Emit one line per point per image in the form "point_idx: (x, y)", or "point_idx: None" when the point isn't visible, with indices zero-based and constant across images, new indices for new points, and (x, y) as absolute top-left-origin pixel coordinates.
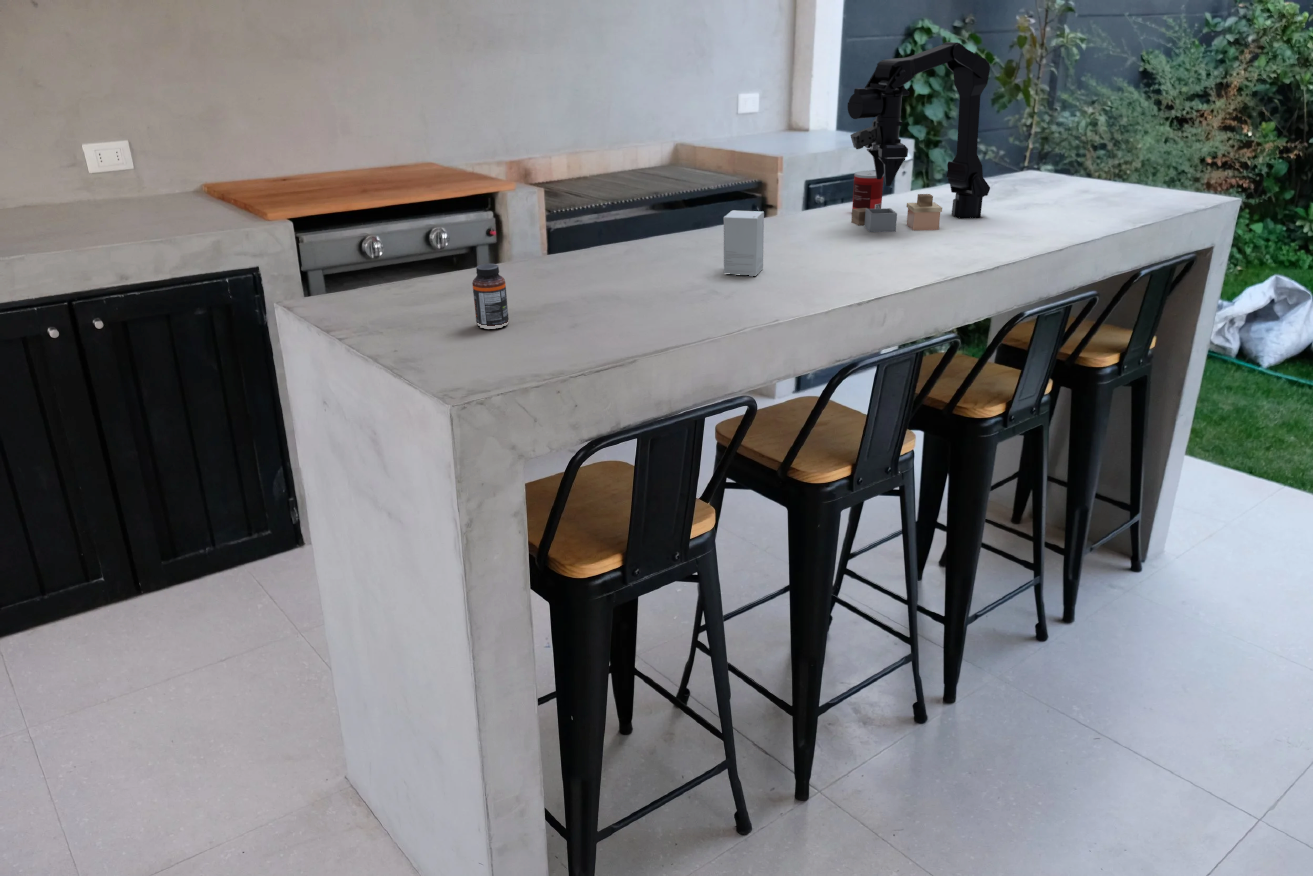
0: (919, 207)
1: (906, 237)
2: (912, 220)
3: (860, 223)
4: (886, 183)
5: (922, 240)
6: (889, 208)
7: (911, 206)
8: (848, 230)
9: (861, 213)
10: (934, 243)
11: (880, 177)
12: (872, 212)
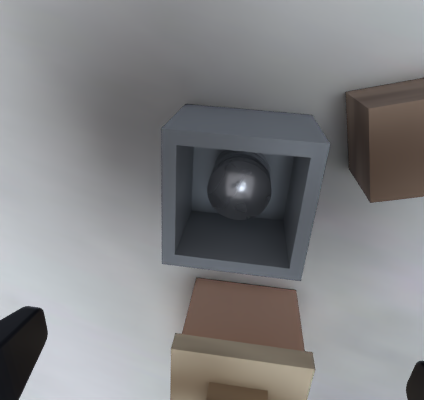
0: (188, 372)
1: (117, 229)
2: (211, 309)
3: (351, 107)
4: (7, 322)
5: (68, 261)
6: (297, 273)
7: (220, 355)
8: (297, 16)
9: (366, 122)
10: (27, 279)
11: (414, 398)
12: (303, 175)
